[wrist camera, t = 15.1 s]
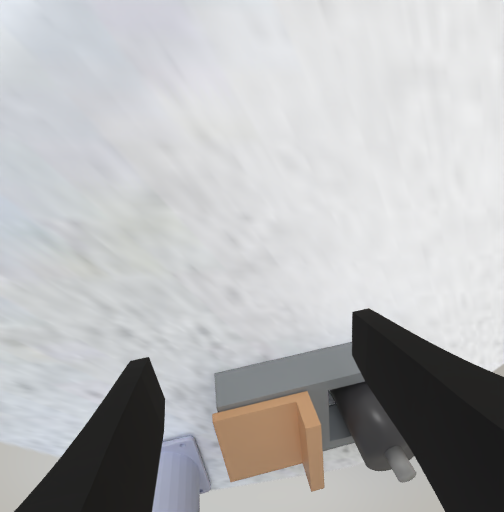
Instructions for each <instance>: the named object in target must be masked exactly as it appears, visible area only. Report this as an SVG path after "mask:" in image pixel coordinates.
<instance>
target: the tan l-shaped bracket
mask: <svg viewBox="0 0 504 512" xmlns="http://www.w3.org/2000/svg"><path fill="white" fill-rule="evenodd" d="M212 416H213V424H214V428H215V431H216V435H217V438H218V441H219V445H220V448H221V451H222V455H223V458H224V461H225V465H226V468H227V472H228V475H229V478H230V482H233V481H237V480H241V479H245V478H249V477H252V476H256V475H260V474H264V473H267V472H271V471H275V470H279V469H282V468H286V467H290V466H294V465H297V464H301V463H303V466H304V469H305V472H306V476H307V479H308V482H309V486H310V489H311V491H316V490H319V489H323V488H324V470H323V451H322V432H321V423H320V421H319V418H318V416H317V413H316V411H315V409H314V406H313V404H312V401H311V399H310V396H309V394H308V391H305V392H301V393H297V394H293V395H288V396H284V397H280V398H276V399H272V400H268V401H264V402H260V403H255V404H251V405H247V406H243V407H239V408H235V409H231V410H227V411H223V412H218V413H214V414H212Z"/></svg>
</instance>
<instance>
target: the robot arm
mask: <svg viewBox="0 0 504 512" xmlns="http://www.w3.org/2000/svg"><path fill="white" fill-rule="evenodd" d="M352 356H353V358H354V360H355V362H356V365H357V367H358V369H359V370H360V372H361V374H362V376H363V378H364V380H365V382H366V383H367V385H368V386H369V388H370V389H371V391H372V392H373V394H374V395H375V397H376V398H377V400H378V401H379V403H380V404H381V406H382V407H383V409H384V410H385V412H386V413H387V415H388V416H389V418H390V419H391V421H392V422H393V424H394V425H395V427H396V428H397V430H398V431H399V433H400V434H401V436H402V437H403V439H404V440H405V442H406V443H407V445H408V446H409V448H410V449H411V451H412V453H413V454H414V456H415V457H416V459H417V461H418V463H419V464H420V466H421V468H422V470H423V472H424V474H425V475H426V477H427V479H428V481H429V482H430V484H431V486H432V488H433V490H434V491H435V493H436V495H437V497H438V499H439V501H440V503H441V504H442V506H443V508H444V510H445V512H504V377H502V376H500V375H497V374H495V373H493V372H490V371H488V370H486V369H483V368H481V367H479V366H477V365H474V364H472V363H470V362H468V361H466V360H464V359H462V358H460V357H458V356H455V355H453V354H451V353H449V352H447V351H445V350H443V349H441V348H439V347H437V346H436V345H434V344H432V343H430V342H428V341H426V340H424V339H422V338H421V337H419V336H417V335H415V334H413V333H411V332H410V331H408V330H406V329H404V328H403V327H401V326H399V325H397V324H396V323H394V322H392V321H390V320H389V319H387V318H385V317H383V316H382V315H380V314H378V313H376V312H374V311H373V310H371V309H364V310H360V311H355V312H353V314H352ZM164 417H165V398H164V395H163V393H162V390H161V387H160V385H159V382H158V380H157V377H156V375H155V372H154V369H153V367H152V364H151V362H150V359H149V357H147V358H142V359H138V360H133V361H130V362H129V364H128V365H127V366H126V368H125V369H124V371H123V372H122V374H121V375H120V377H119V378H118V380H117V381H116V382H115V384H114V385H113V387H112V388H111V390H110V391H109V393H108V394H107V396H106V397H105V399H104V400H103V401H102V403H101V404H100V406H99V407H98V408H97V410H96V411H95V413H94V414H93V416H92V417H91V418H90V420H89V421H88V423H87V424H86V425H85V427H84V428H83V429H82V431H81V432H80V433H79V435H78V436H77V437H76V438H75V440H74V441H73V442H72V444H71V445H70V446H69V448H68V449H67V450H66V452H65V453H64V454H63V455H62V457H61V458H60V459H59V460H58V462H57V463H56V464H55V465H54V467H53V468H52V469H51V470H50V471H49V473H48V474H47V475H46V476H45V477H44V478H43V480H42V481H41V482H40V483H39V484H38V485H37V487H36V488H35V489H34V490H33V491H32V492H31V494H30V495H29V496H28V497H27V498H26V499H25V500H24V501H23V503H22V504H21V505H20V506H19V507H18V508H17V509H16V510H15V511H14V512H199V509H200V508H199V494H202V493H205V492H208V491H209V490H210V489H211V484H210V481H209V478H208V476H207V473H206V470H205V467H204V464H203V461H202V459H201V456H200V453H199V450H198V447H197V444H196V442H195V439H194V437H192V436H186V437H182V438H178V439H174V440H170V441H166V442H162V441H163V434H164Z"/></svg>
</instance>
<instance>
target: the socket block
mask: <svg viewBox="0 0 504 512" xmlns="http://www.w3.org/2000/svg"><path fill="white" fill-rule="evenodd" d="M361 382H365V380H364V378H363V376H362V374H361V372H360V370H359V369H358V367H357V365H356V362H355V360H354V358H353V356H352V342H350V343H346V344H342V345H337V346H333V347H329V348H324V349H320V350H316V351H311V352H307V353H303V354H298V355H294V356H290V357H285V358H281V359H277V360H272V361H268V362H264V363H259V364H255V365H251V366H246V367H242V368H238V369H233V370H229V371H225V372H220V373H216V374H215V390H216V406H217V411H218V412H223V411H227V410H231V409H235V408H239V407H243V406H247V405H251V404H255V403H260V402H264V401H268V400H272V399H276V398H280V397H284V396H288V395H293V394H297V393H301V392H305V391H308V394H309V396H310V399H311V401H312V404H313V406H314V409H315V411H316V413H317V416H318V418H319V421H320V423H321V432H322V451H325V450H329V449H333V448H337V447H340V446H344V445H348V444H352V443H355V441H354V439H353V437H352V435H351V433H350V431H349V429H348V427H347V425H346V423H345V421H344V419H343V417H342V415H341V413H340V411H339V409H338V407H337V405H332V406H329V399H328V390H332V389H336V388H340V387H344V386H348V385H352V384H357V383H361Z"/></svg>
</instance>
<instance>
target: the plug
mask: <svg viewBox="0 0 504 512" xmlns="http://www.w3.org/2000/svg"><path fill="white" fill-rule="evenodd" d="M330 392H331V394H332V397H333V399H334V401H335V403H336V405H337V407H338V409H339V411H340V413H341V415H342V417H343V419H344V421H345V423H346V425H347V427H348V429H349V431H350V433H351V435H352V437H353V439H354V441H355V444H356V446H357V448H358V450H359V452H360V454H361V456H362V458H363V460H364V462H365V464H366V466H367V467H368V468H370V469H372V470H375V471H386V470H390V469H392V470H393V471H394V473H395V475H396V477H397V479H398V480H399V481H400V482H407V481H410V480H411V479H413V478H414V477H415V476H416V472H415V470H414V468H413V467H412V465H411V463H410V462H409V460H410V459H411V458H412V457H413V456H414V454H413V453H412V451H411V449H410V448H409V446H408V445H407V443H406V442H405V440H404V439H403V437H402V436H401V434H400V433H399V431H398V430H397V428H396V427H395V425H394V424H393V422H392V421H391V419H390V418H389V416H388V415H387V413H386V412H385V410H384V409H383V407H382V406H381V404H380V403H379V401H378V400H377V398H376V397H375V395H374V394H373V392H372V391H371V389H370V388H369V386H368V385H367V383H366V382H361V383H357V384H352V385H348V386H344V387H340V388H336V389H332V390H330Z"/></svg>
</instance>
